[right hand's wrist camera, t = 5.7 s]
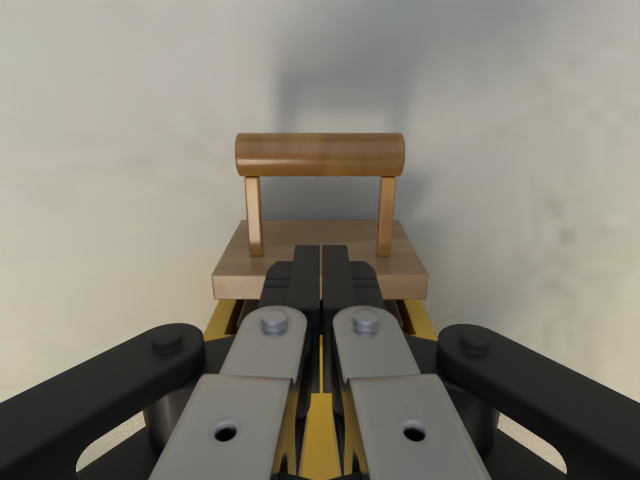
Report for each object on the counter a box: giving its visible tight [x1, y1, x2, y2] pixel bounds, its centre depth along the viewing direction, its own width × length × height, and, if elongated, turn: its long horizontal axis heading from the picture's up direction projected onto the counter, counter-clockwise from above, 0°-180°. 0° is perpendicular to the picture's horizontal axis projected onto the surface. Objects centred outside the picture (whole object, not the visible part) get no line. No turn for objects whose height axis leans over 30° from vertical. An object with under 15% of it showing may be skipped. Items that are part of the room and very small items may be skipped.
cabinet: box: [204, 299, 438, 480], centre depth 25 cm, size 17×10×9 cm, turn 0°
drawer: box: [212, 133, 428, 335], centre depth 22 cm, size 21×9×7 cm, turn 0°
